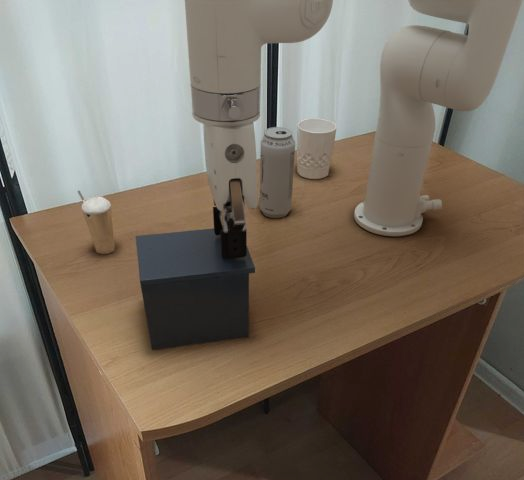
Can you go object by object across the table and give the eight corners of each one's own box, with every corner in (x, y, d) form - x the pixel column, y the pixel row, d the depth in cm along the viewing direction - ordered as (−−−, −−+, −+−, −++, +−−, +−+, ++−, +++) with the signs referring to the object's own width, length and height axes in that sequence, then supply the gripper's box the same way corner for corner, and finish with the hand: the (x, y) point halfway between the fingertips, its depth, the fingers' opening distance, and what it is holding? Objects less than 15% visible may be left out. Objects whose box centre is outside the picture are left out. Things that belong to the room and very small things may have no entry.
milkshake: (99, 238, 94) (87, 184, 87) (124, 246, 92) (114, 192, 85) (82, 251, 91) (68, 196, 84) (107, 259, 89) (95, 204, 82)
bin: (235, 292, 83) (233, 231, 76) (248, 337, 76) (249, 273, 68) (146, 303, 81) (136, 241, 73) (151, 350, 73) (140, 286, 66)
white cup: (329, 182, 111) (334, 134, 105) (291, 178, 112) (294, 130, 106) (333, 166, 117) (338, 120, 110) (297, 163, 118) (300, 116, 111)
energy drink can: (258, 204, 104) (259, 125, 94) (289, 203, 104) (293, 125, 94) (260, 219, 100) (262, 139, 89) (292, 219, 100) (297, 139, 90)
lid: (239, 230, 76) (239, 195, 72) (255, 273, 68) (255, 235, 65) (136, 241, 73) (130, 204, 70) (140, 286, 66) (134, 248, 62)
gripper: (278, 127, 53) (272, 278, 65) (244, 75, 65) (245, 211, 78) (202, 132, 52) (211, 285, 64) (182, 78, 64) (193, 216, 76)
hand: (229, 243), depth 71 cm, fingers closed on lid, 5 cm apart
